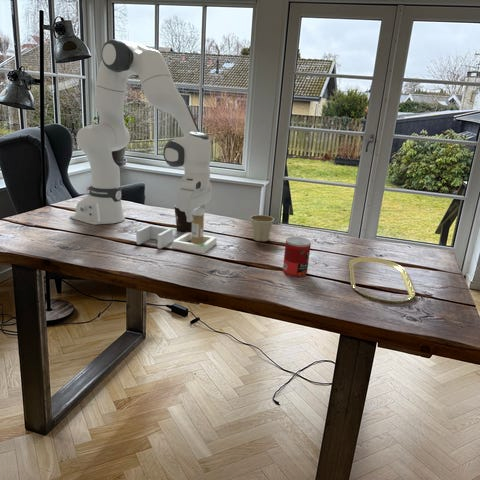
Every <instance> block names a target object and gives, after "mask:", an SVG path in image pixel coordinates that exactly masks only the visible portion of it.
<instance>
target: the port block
mask: <svg viewBox="0 0 480 480" xmlns="http://www.w3.org/2000/svg"><path fill="white" fill-rule="evenodd" d="M188 241H191V242H192V232H187V233H183V234H182V235H180V236H179V237H177V238H176V239H174V240H173V242H171V243H172V245H171V246H172V249H179V250H182V251H188V252H193V253H199V254H204V253H206V252H207V251H209V250H210V249H211V248H212V247H214V246H215V245H217V241H218V239H217V237H216V236H211V235H205V234H203V244H200V245H199V244H194V243H191V242H188Z"/></svg>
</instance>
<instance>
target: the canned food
mask: <svg viewBox="0 0 480 480" xmlns="http://www.w3.org/2000/svg"><path fill="white" fill-rule="evenodd" d="M311 243H312V242H311V241H310V240H309V239H307V238H305V237H299V236H291V237H287V238H286V239H285V244H284V245H285V246H284V255H283V256H284V257H283V265H282V270H283V273H284V275H286V276H289V277H293V278H302V277H306V275H307V273H308V267H309V260H310V252H311Z"/></svg>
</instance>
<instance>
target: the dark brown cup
mask: <svg viewBox="0 0 480 480" xmlns="http://www.w3.org/2000/svg"><path fill="white" fill-rule="evenodd" d="M173 207H174V215H175V225H176V226H175V227H176V232H179V233H182V234H185V233H187V232H189V233H192V222H187V217H186V214H185V212H184V211H180V209H179V206H178V203H177V204H175V205H174V206H173Z"/></svg>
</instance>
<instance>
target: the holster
mask: <svg viewBox="0 0 480 480" xmlns="http://www.w3.org/2000/svg"><path fill="white" fill-rule="evenodd" d="M173 231H174V228H171V227H170V228H169V227H164V226H160V225H154V224H148V225H145V226H144V227H141V228H139V229H138V230H136V232H135V234H136V237H135V238H136V245H142V244H144V243H146V242H148V240H152V239H153V240H157V249H163V248H164V247H166V246H168V245H170V244H171V243H173V241H174V240H173V237H174V232H173Z"/></svg>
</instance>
